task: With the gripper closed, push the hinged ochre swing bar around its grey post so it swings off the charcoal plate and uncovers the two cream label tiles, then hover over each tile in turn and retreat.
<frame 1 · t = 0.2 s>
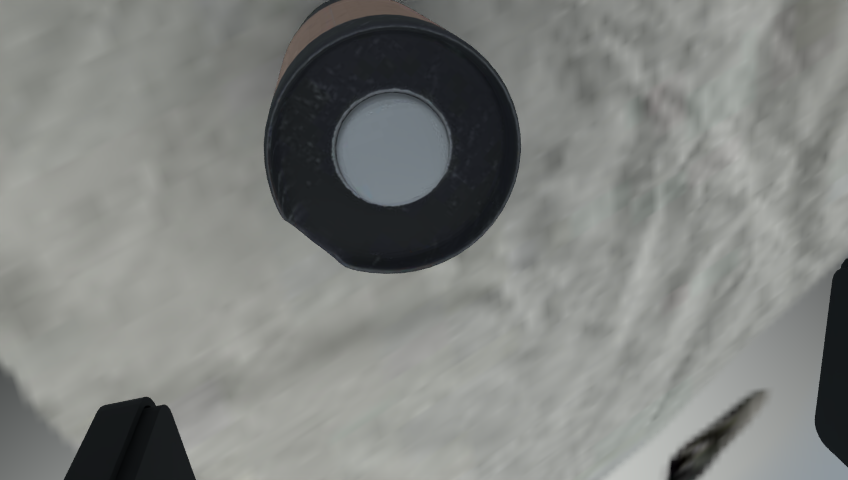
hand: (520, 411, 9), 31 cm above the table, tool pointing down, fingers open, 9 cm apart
travel mug: (357, 61, 37), on the table
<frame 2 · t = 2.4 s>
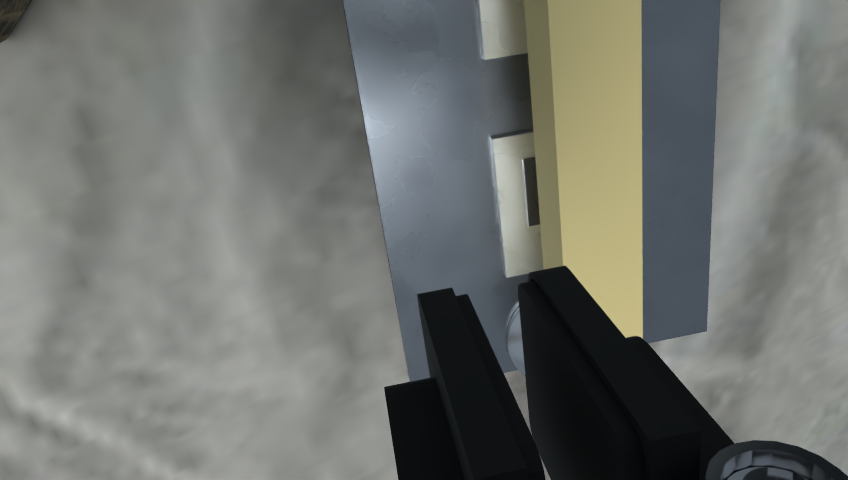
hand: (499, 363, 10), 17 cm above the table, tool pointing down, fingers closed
chassis: (538, 109, 27), on the table
swing arm: (588, 205, 23), point 5 cm above the table, hinge at 0.0°
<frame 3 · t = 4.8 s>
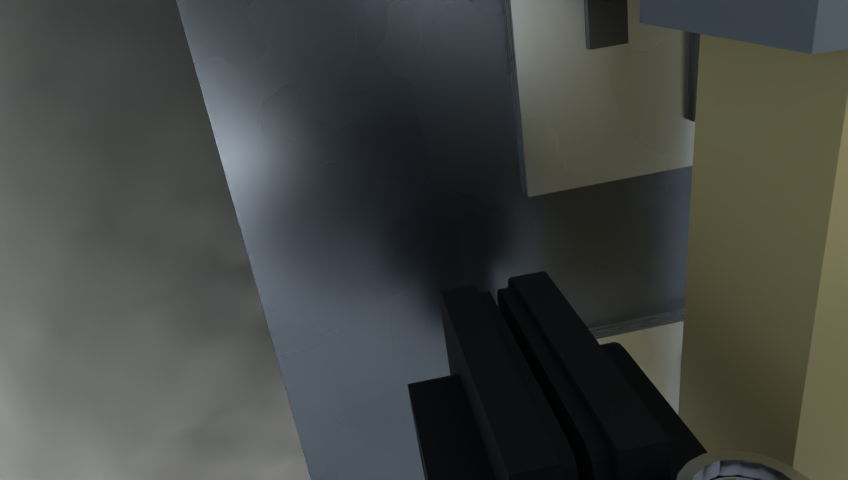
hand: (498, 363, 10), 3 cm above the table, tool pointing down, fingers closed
chassis: (629, 269, 13), on the table
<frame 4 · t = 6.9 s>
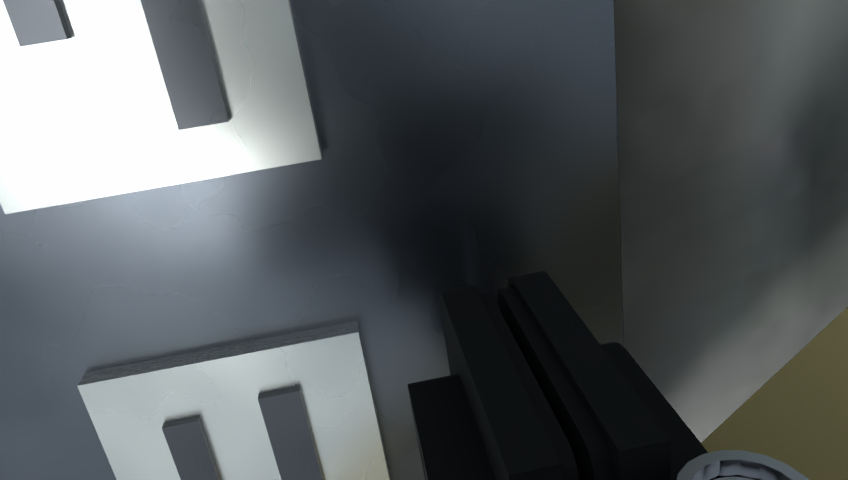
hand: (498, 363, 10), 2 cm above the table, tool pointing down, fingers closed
chassis: (224, 293, 12), on the table
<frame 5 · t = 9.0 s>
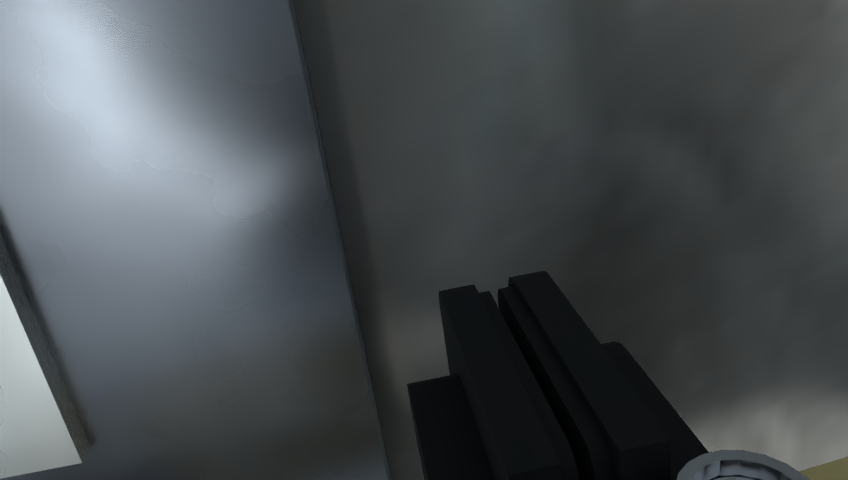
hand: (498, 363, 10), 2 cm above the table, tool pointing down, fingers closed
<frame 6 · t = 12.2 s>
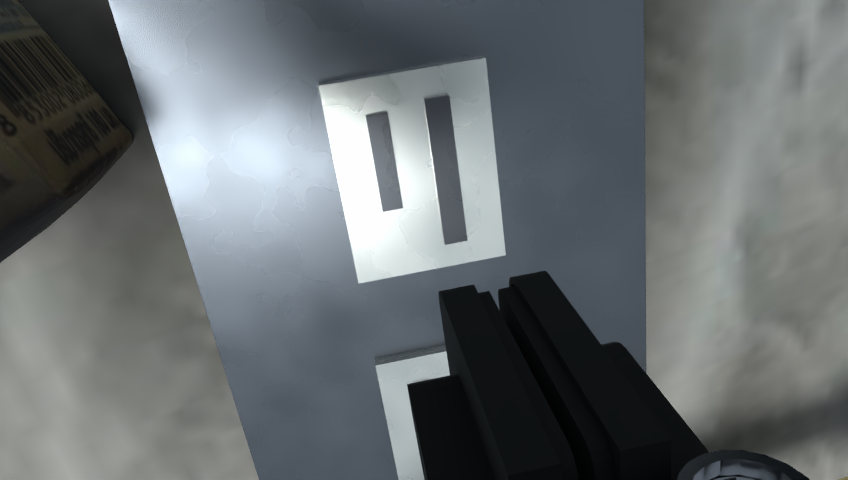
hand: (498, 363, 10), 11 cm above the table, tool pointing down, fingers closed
chassis: (436, 317, 23), on the table
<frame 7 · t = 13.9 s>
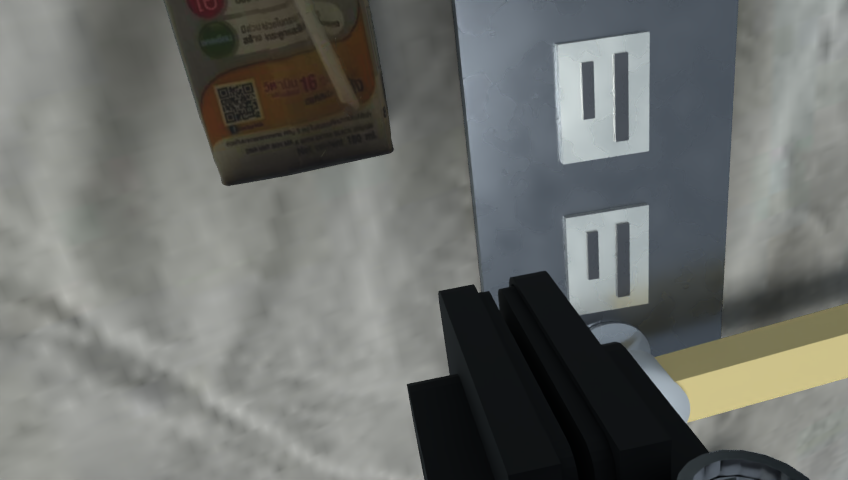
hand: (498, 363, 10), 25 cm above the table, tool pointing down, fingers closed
chassis: (597, 195, 37), on the table
swing arm: (773, 361, 36), point 5 cm above the table, hinge at 83.3°
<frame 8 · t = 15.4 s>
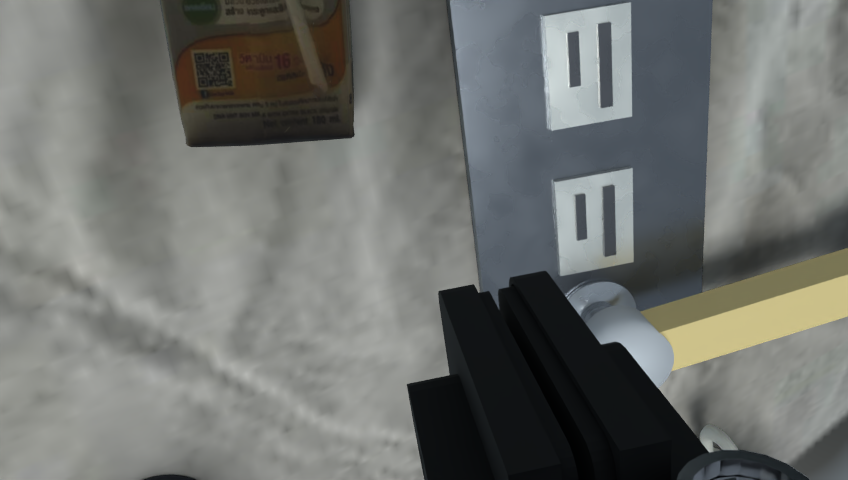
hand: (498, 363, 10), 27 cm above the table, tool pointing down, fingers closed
mug: (688, 455, 49), on the table
chassis: (584, 160, 39), on the table
swing arm: (750, 312, 38), point 5 cm above the table, hinge at 83.3°
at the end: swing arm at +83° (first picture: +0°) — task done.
